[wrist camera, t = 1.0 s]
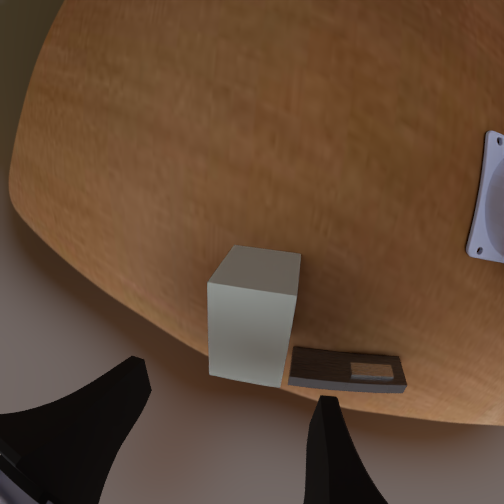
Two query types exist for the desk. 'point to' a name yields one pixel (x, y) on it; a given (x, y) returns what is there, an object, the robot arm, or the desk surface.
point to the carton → (252, 314)
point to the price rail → (346, 371)
